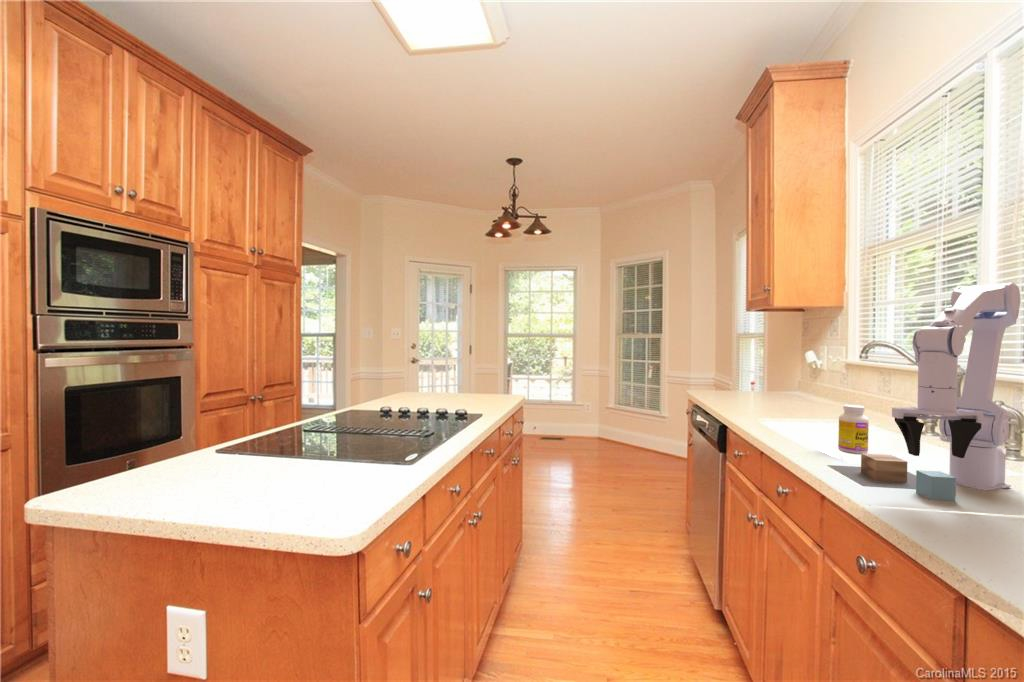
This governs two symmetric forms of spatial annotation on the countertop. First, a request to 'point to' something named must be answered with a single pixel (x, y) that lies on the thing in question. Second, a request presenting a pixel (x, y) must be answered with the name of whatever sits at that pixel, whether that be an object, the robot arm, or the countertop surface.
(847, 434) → the supplement bottle
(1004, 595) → the countertop surface
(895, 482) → the mat
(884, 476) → the slab bottom
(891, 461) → the slab top
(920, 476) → the blue block
